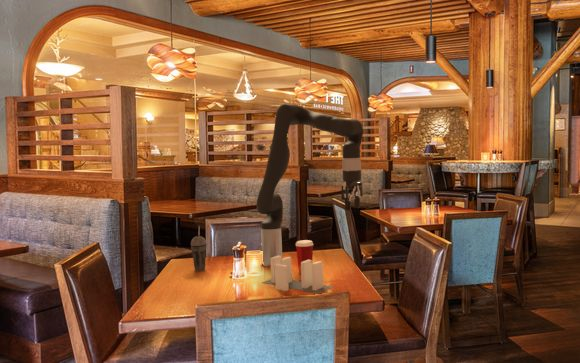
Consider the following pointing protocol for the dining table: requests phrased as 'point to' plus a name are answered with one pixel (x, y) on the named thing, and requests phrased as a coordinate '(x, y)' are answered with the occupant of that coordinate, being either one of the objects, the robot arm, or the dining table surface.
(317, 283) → the tile
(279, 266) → the tile
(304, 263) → the tile
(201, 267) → the beverage cup
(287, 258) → the tile
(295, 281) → the slate mat
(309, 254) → the paper cup
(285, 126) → the robot arm
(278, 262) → the tile
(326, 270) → the dining table surface
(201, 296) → the dining table surface
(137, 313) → the dining table surface
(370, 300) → the dining table surface
